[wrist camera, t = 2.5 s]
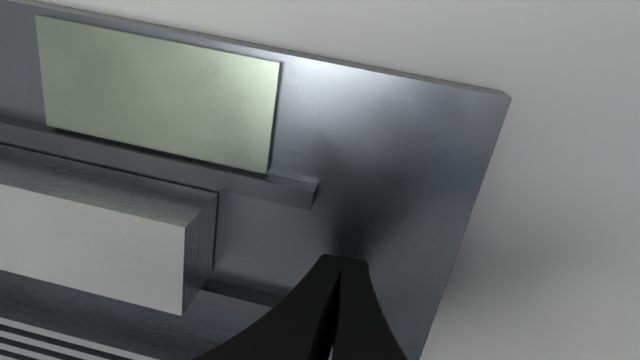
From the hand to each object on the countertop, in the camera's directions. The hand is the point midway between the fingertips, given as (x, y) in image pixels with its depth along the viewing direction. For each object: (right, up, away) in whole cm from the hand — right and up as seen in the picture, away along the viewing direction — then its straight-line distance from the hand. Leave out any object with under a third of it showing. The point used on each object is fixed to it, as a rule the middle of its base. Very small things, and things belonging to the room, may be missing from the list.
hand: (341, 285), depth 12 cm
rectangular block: (-9, +2, +2) cm, 9 cm away
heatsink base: (-9, +3, +3) cm, 10 cm away
